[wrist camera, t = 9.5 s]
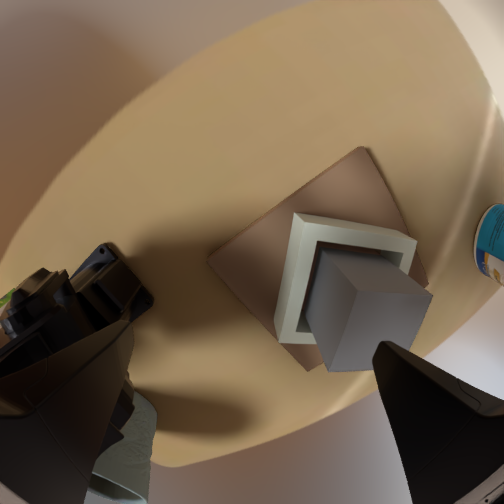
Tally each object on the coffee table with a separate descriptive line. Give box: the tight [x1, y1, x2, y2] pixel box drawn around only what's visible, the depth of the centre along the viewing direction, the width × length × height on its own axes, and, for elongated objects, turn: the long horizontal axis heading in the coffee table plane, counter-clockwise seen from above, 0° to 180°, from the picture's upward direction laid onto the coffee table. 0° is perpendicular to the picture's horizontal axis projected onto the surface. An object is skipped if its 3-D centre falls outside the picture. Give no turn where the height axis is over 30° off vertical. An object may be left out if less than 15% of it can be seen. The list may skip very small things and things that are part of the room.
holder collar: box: [274, 212, 418, 344], centre depth 19 cm, size 9×9×3 cm
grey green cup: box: [87, 391, 157, 504], centre depth 20 cm, size 10×10×12 cm
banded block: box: [302, 241, 433, 372], centre depth 16 cm, size 5×5×8 cm
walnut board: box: [206, 147, 429, 372], centre depth 21 cm, size 14×14×1 cm
